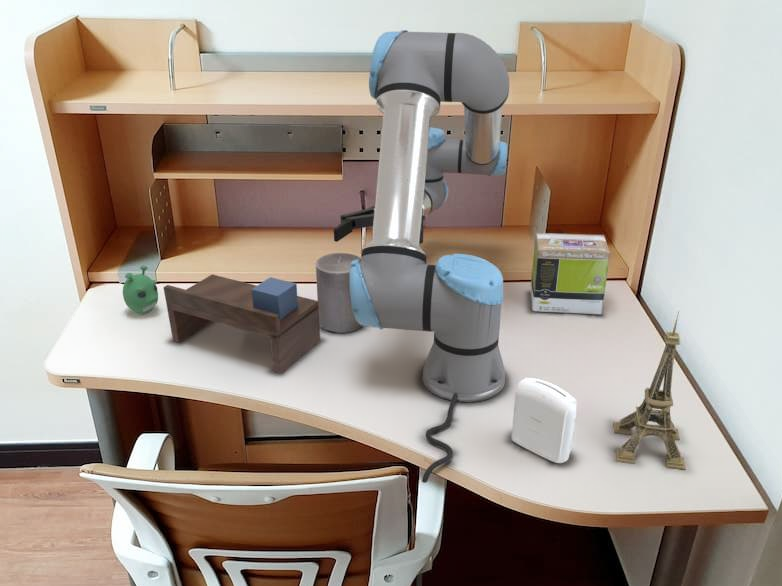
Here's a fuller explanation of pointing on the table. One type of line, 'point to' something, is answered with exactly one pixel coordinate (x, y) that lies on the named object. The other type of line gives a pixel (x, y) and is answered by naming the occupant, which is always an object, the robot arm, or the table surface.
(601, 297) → the tea box
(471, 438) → the table surface
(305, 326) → the shelf
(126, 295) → the alien toy
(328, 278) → the pillar candle
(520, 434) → the photo printer
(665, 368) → the eiffel tower
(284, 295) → the slate box
